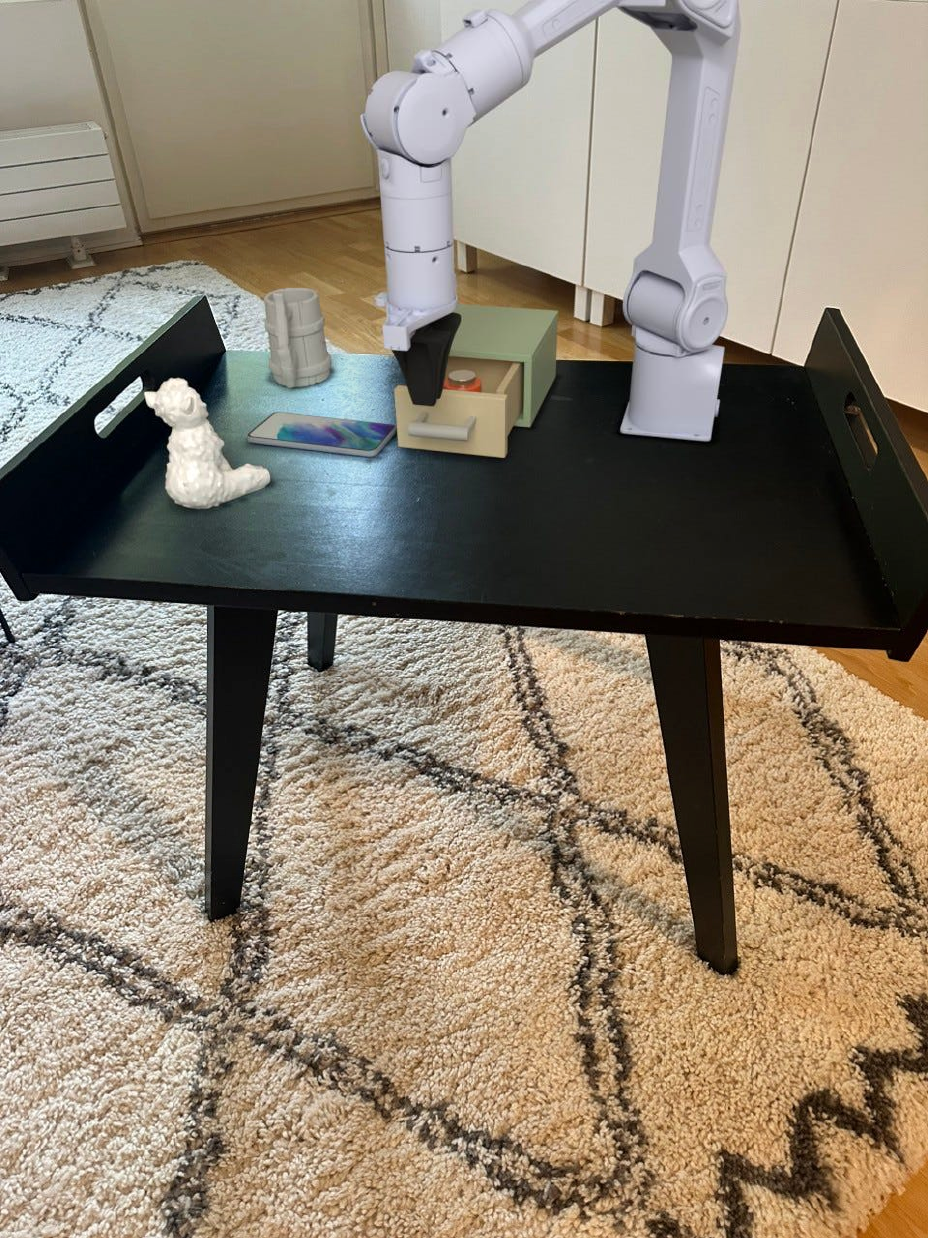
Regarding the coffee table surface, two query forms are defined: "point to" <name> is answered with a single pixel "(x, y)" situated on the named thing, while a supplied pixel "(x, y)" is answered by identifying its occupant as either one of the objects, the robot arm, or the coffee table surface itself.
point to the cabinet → (512, 346)
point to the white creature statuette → (198, 452)
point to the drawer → (465, 411)
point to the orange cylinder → (463, 381)
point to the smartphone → (323, 434)
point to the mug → (296, 337)
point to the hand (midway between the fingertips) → (426, 400)
